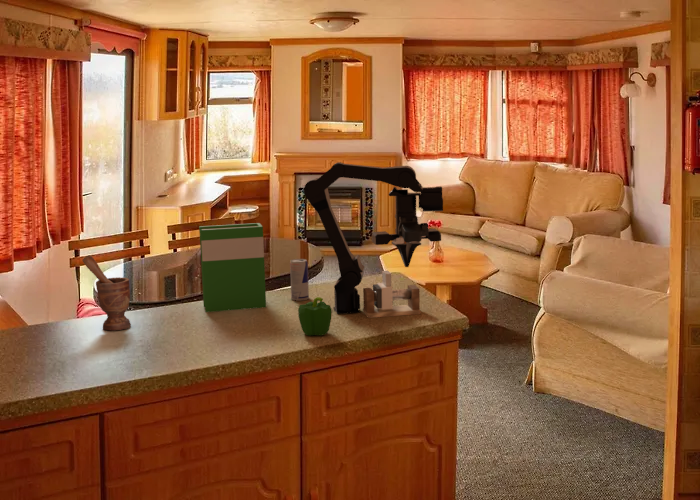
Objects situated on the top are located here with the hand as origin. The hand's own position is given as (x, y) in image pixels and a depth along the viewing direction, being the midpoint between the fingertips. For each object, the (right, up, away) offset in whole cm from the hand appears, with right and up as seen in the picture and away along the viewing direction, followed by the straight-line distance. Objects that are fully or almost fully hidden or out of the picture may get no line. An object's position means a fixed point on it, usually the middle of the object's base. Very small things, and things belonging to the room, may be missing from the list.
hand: (406, 266), depth 217 cm
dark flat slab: (-8, -11, 0) cm, 14 cm away
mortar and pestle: (-81, -17, -8) cm, 83 cm away
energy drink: (-31, -10, +19) cm, 38 cm away
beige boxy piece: (-6, -11, +1) cm, 13 cm away
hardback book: (-50, -12, +12) cm, 53 cm away
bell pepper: (-25, -17, -17) cm, 35 cm away
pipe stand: (-4, -13, +1) cm, 14 cm away
